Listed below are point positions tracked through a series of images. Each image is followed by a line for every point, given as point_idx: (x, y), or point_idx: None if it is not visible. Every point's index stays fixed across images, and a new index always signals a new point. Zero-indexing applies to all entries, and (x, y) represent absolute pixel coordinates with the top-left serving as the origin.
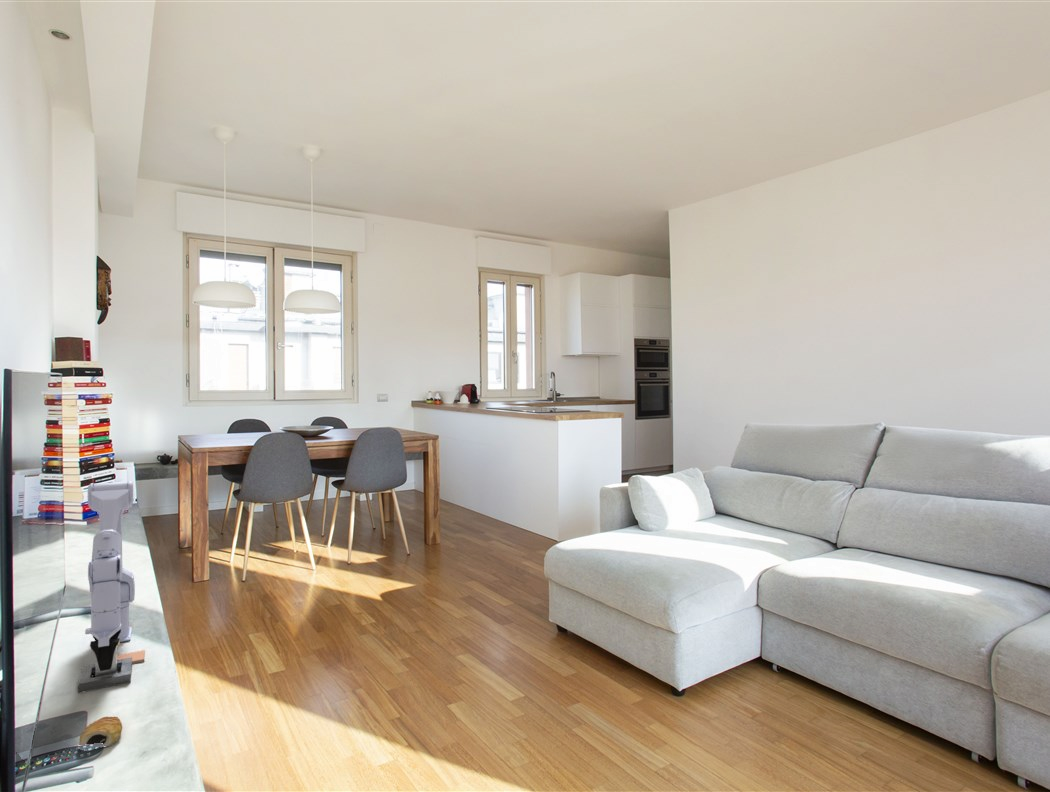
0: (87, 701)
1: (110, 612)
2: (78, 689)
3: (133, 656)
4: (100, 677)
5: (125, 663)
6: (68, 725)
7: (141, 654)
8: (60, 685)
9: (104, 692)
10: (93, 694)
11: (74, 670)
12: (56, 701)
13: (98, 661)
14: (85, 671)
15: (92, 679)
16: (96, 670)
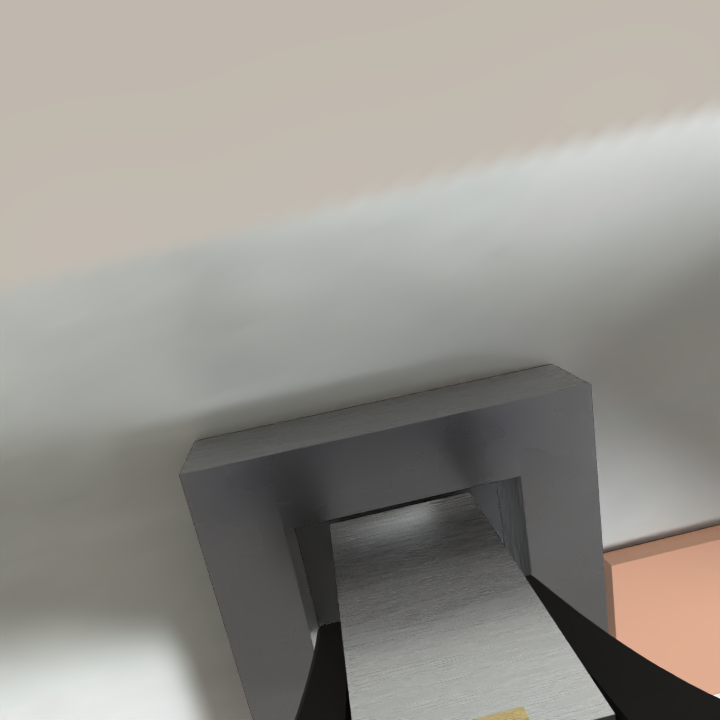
0: (16, 557)
1: None
2: (192, 454)
3: (705, 639)
4: (275, 608)
5: None
6: None
7: (716, 678)
8: (397, 249)
9: (153, 620)
10: (137, 558)
11: (672, 267)
12: (69, 324)
13: (300, 714)
14: (456, 446)
15: (250, 560)
16: (338, 593)
